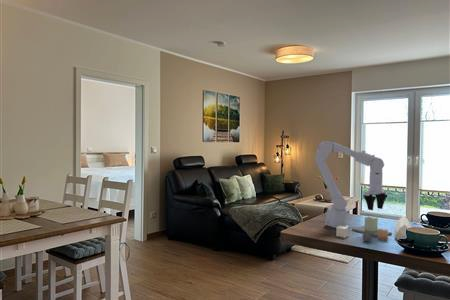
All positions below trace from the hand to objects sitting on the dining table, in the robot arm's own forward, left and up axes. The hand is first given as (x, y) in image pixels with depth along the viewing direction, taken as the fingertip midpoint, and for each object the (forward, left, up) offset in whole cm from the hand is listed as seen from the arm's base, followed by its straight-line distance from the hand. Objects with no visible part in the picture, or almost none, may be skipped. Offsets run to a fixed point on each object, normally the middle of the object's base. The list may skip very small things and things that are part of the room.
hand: (375, 209), depth 160 cm
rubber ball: (+11, -22, -10) cm, 27 cm away
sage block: (+3, -7, -9) cm, 12 cm away
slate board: (+3, -7, -10) cm, 12 cm away
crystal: (+13, +3, -10) cm, 17 cm away
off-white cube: (0, -24, -10) cm, 26 cm away
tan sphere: (+12, -12, -10) cm, 20 cm away
